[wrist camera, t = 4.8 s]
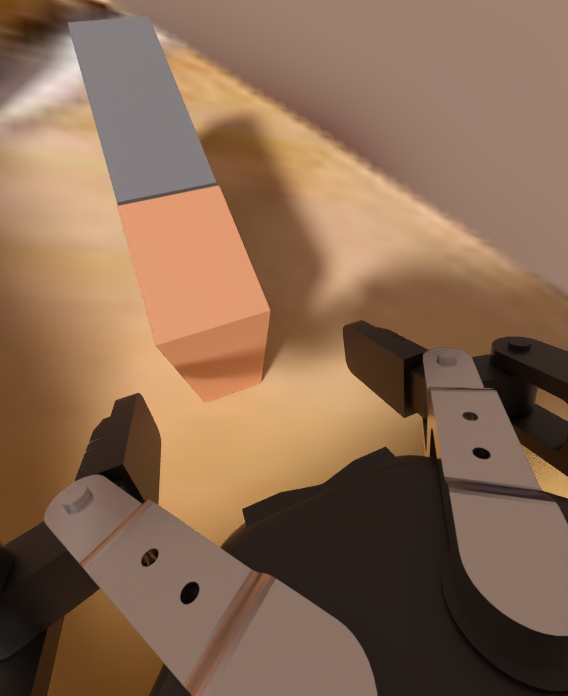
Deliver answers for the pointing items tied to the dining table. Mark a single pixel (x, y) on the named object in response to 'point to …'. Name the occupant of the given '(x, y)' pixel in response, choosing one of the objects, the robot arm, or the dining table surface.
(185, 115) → the gray block
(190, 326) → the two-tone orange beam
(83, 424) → the dining table surface
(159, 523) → the robot arm
